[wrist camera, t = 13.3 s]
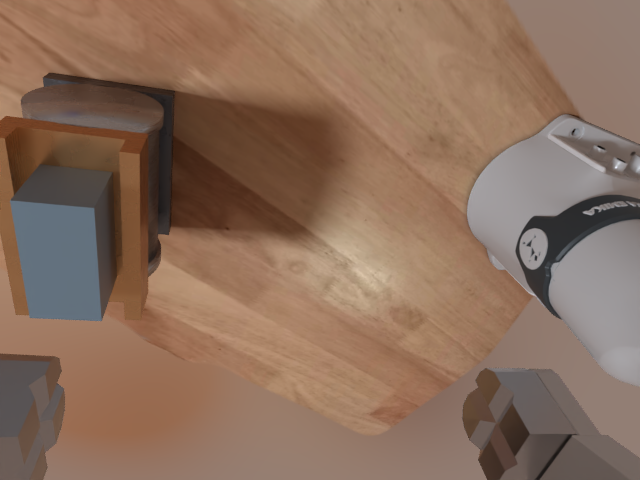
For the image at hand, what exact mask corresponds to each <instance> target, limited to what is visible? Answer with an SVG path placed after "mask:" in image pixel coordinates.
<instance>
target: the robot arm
mask: <svg viewBox="0 0 640 480" xmlns="http://www.w3.org/2000/svg"><path fill="white" fill-rule="evenodd" d="M575 128H576V129H575ZM574 129H575V131H574V132H573V133H572V131H573V130H574ZM571 133H572V134H571ZM467 218H468V223H469V226H470V229H471V231H472V233H473V234H474V236H475V237H476V238H477V239H478V240H479V241H480V242H481V243H482V244H483V245H484V246H485V247H486V249H487V252H488V256H489V259H490V262H491V263H492V264H493V265H494V266H495V267H496V268H497V269H499V270H507V271H508V272H509V273H510V274H511V275H512V277H513V278H514V279H515V280H516V281H517V282H518V283H519V284H520V285H521V286H522V287H523V288H524V289H525V290H526V291H527V292H529V293H530V294H531V295H534V296H536V298H537V299H538V300H539V301H540V303H541V304H542V305H543V306H544V307H545V308H547V309H548V310H549V311H550V312H551V313H552V314H553V315H554V316H556V317H558V318H559V319H562V320H563V321H564V322H565V324H566V325H567V326H568V327H569V328H570V330H571V331H572V332H573V334H574V335H575V336H576V337H577V338H578V340H579V341H580V342H581V343H582V345H583V346H584V347H585V348H586V349H587V351H588V352H589V353H590V354H591V356H592V357H593V358H594V359H595V360H596V362H597V363H598V364H599V365H600V367H601V368H602V369H603V370H604V371H605V372H606V373H608V374H609V375H611V376H612V377H614V378H616V379H618V380H620V381H622V382H625V383H628V384H631V385H634V386H638V387H640V144H637V143H635V142H633V141H630V140H628V139H626V138H623V137H621V136H619V135H616V134H614V133H612V132H609V131H607V130H605V129H603V128H600V127H598V126H595V125H593V124H591V123H589V122H586V121H584V120H582V119H579V118H577V117H575V116H572V115H569V114H564V115H561V116H559V117H558V118H556V119H555V120H553V121H552V122H551V123H550V124H549V125H547V126H546V127H545V128H544V129H543V130H542V131H541V132H540V133H538V134H536V135H535V136H533V137H531V138H528V139H526V140H524V141H521V142H519V143H517V144H515V145H513V146H512V147H510V148H508V149H507V150H505V151H504V152H502V153H501V154H500V155H498V156H497V157H496V158H495V159H494V160H493V161H492V162H491V163H490V164H489V165H488V166H487V167H486V168H485V169H484V171H483V172H482V173H481V175H480V176H479V178H478V179H477V181H476V182H475V184H474V186H473V189H472V191H471V194H470V197H469V201H468V207H467ZM61 372H62V370H61V365H60V359H59V358H58V357H55V356H36V355H17V354H0V480H43V479H44V476H45V473H46V470H47V463H46V456H45V452H46V451H48V450H49V449H50V448H51V447H52V446H54V445H55V444H56V442H57V439H58V436H59V433H60V430H61V426H62V421H63V416H64V411H65V394H64V388H63V387H61V386H60V385H59V384H58V383H57V382H58V379H59V377H60V374H61ZM476 383H477V385H478V388H477V389H475V390H474V391H472V392H471V393H470V394H468V396H467V398H466V400H465V402H464V405H463V417H462V419H463V424H464V428H465V431H466V433H467V435H468V438H469V440H470V441H471V442H472V443H473V444H475V445H476V446H477V447H478V448H479V449H480V454H479V459H478V461H479V463H480V465H481V467H482V469H483V471H484V474H485V476H486V478H487V480H640V458H639V457H638V456H636V455H635V454H633V453H632V452H631V451H629V450H628V449H626V448H625V447H624V446H622V445H621V444H619V443H618V442H617V441H615V440H614V439H612V438H611V437H609V436H608V435H601V434H600V433H599V431H598V430H597V428H596V427H595V426H594V424H593V423H592V421H591V420H590V419H589V417H588V416H587V414H586V413H585V412H584V410H583V409H582V407H581V406H580V405H579V403H578V402H577V400H576V399H575V398H574V396H573V395H572V394H571V392H570V391H569V389H568V388H567V386H566V385H565V384H564V383H563V381H562V379H561V378H560V377H559V376H558V374H557V373H555V372H554V371H553V370H551V369H523V368H522V369H521V368H485V369H484V370H482V371H481V372H480V373H479V375H478V377H477V378H476Z"/></svg>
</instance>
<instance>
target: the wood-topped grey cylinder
mask: <svg viewBox="0 0 640 480" xmlns="http://www.w3.org/2000/svg"><path fill="white" fill-rule="evenodd" d="M43 82H44V87H42V88H38V89H35V90H32V91H30V92H28V93H27V94H25V95H24V96H23V97H22V99H21V107H22V115H23V118H18V117H10V116H5V117H4V118H3V119H2V120H1V121H0V233H1V239H2V244H3V249H4V255H5V260H6V265H7V270H8V276H9V281H10V286H11V291H12V297H13V302H14V307H15V313H16V315H29V310H28V304H27V299H26V293H25V287H24V281H23V275H22V269H21V263H20V257H19V251H18V246H17V240H16V234H15V228H14V222H13V216H12V210H11V204H10V200H11V198H12V197H13V196H14V195H15V194H16V192H17V191H18V190H19V189H20V188H21V186H22V185H23V184H24V183H25V182H26V180H27V179H28V178H29V177H30V176H31V174H32V173H33V172H34V171H35V170H36V168H37V167H38V166H39V165H40V164H43V165H52V166H61V167H71V168H80V169H89V170H99V171H108V172H113V192H114V217H115V241H116V266H117V278H116V281H115V284H114V287H113V290H112V293H111V296H110V298H109V301H108V302H124V312H125V320H141V319H142V315H143V311H144V307H145V303H146V299H147V295H148V277H149V276H150V275H151V274H152V273H154V271H155V270H156V269H157V268H158V266H159V264H160V261H161V244H160V241H159V239H158V234H165V235H169V232H170V227H171V197H172V163H173V130H174V96H175V91H171V90H164V89H157V88H151V87H144V86H137V85H130V84H123V83H116V82H109V81H102V80H95V79H89V78H82V77H75V76H68V75H61V74H54V73H48V74H47V75H46V76H44V77H43Z"/></svg>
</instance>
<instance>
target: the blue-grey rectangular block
mask: <svg viewBox="0 0 640 480" xmlns="http://www.w3.org/2000/svg"><path fill="white" fill-rule="evenodd" d="M10 204H11V210H12V216H13V222H14V228H15V234H16V240H17V246H18V251H19V257H20V263H21V269H22V275H23V281H24V287H25V293H26V299H27V304H28V310H29V316H30V318H43V319H66V320H90V321H102V318H103V316H104V313H105V310H106V307H107V304H108V301H109V298H110V296H111V293H112V290H113V287H114V284H115V281H116V278H117V266H116V241H115V217H114V192H113V172H108V171H99V170H89V169H80V168H71V167H61V166H52V165H43V164H40V165H39V166H38V167H37V168H36V170H35V171H34V172H33V173H32V174H31V176H30V177H29V178H28V179H27V180H26V182H25V183H24V184H23V185H22V186H21V188H20V189H19V190H18V191H17V192H16V194H15V195H14V196H13V197H12V198H11V200H10Z"/></svg>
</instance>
